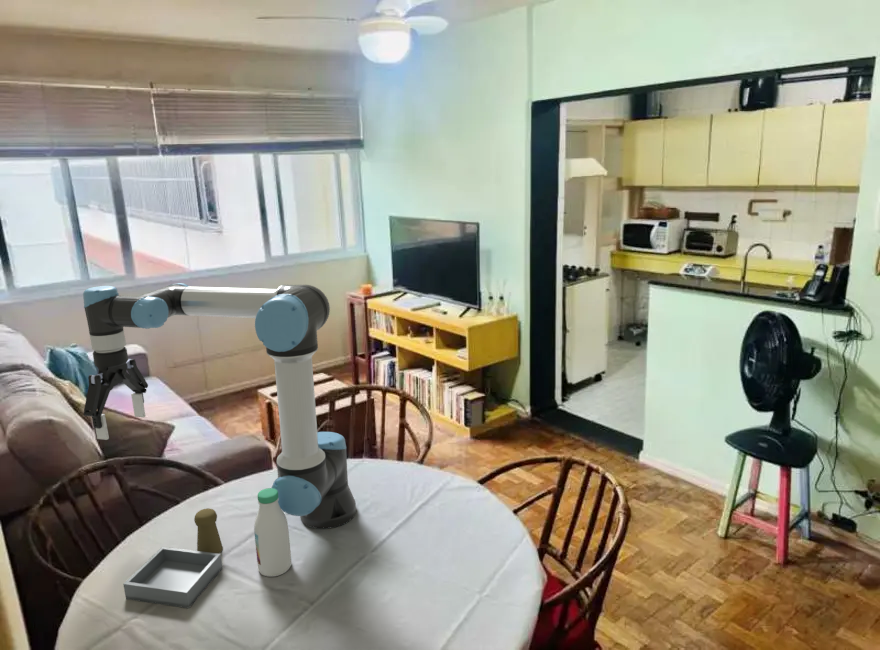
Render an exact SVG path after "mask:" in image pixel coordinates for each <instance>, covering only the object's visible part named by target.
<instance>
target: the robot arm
mask: <svg viewBox="0 0 880 650" xmlns="http://www.w3.org/2000/svg"><path fill="white" fill-rule="evenodd" d="M82 296H83V309H84V312H85V313H84V314H85V316H86V320H87V321H86V322H87V327H88V333H89V339H90V340H89V341H90V345H91V349H92V351H93V352H92V358H93V363H94V365H95V367H96V368H97V370H98V372H97V374H89V375H88V387H87V392H86V399H85V405H84V410H83V416H84V417H91V420H92V425H93V428H94V429H95V433H96V439H97V440H105V441H107V440H109V439H110V437H109V430H108V425H107V420H106V419H107V418H106V414H105V413H103V412H104V409H105V406H106V404H107V400H108V398H109V395H110V392H111V391H112V390H113V388H114V387H115V386H117V385H118V384H121V383H122V384H124V385H125V386H126V388H128V389H130V390H131V391H132V393H130V395H131V401H132V408H133V414H134V418H145V417H146V411H145V398H144V394H146V393H147V389H148V388H149V383H148V382H147V381H146V379H145V378H144V376H143V374H142V372H141V370H140V369H139V367H138V366H137V362H136V359H134V358H129V356H128V348H127V347H126V345H127V342H126V336H125V335H126V334H125V329H124V328H137V329H146V330H148V329H158V328H161V327H163V326H164V325H165V323H166V322H167V320H168V318H171V317H173V316H194V317H195V316H197V317H201V316H203V317H222V318H224V317H225V318H227V317H228V318H243V319H244V318H247V319H249V318H250V319H255V320H254V329H255V330H254V331H255V334H256V336H257V338H258V340H259V341H260V342H262V345H263V346H264V347H265V349H266V351H265V352H266V355H268V357H270V358H272V359H273V361H274V363H273V364H274V372H275V373H274V374H275V384H276V385H275V386H276V395H277V396H276V398H277V408H278V416H279V418H278V419H279V430H280V441H281V442H280V443H281V453H279V455H278V456H277V458H276V469H277V470H276V471H277V478H276V479H275V480H274V481H273V483H272V486H271V488H274V489H276V490H277V491H278V498H279V500H278V504H279V506H280V508H281V509H282V511H283V512H284V514H287V515H290V516H295V517H300V521H301V522H302V523H303V524H304V525H306V526H307V527H310V528H313V529H320V530H322V529H323V530H324V529H333V528H337V527H340V526H342V524H343V525H344V523H345V524H346V522H347V523H348V522H350V521H351V520H352V519H353V518H354V517H355V516H356V513H357V505H356V500H355V498H354V495H353V493H352V491H351V488H350V486H349V480H348V475H349V474H348V461H347V460H348V458H347V444H346V439H345V437H344V436H343V435H342V434H340V433H337V432H334V431H318V424H317V411H316V410H317V409H316V396H315V395H316V394H315V383H314V382H315V381H314V366H313V356H314V355H315V353H317V352H318V350H319V346H318V344H319V343H318V342H319V341H318V334H317V333H318V331H319V330H320V329H321V328H322V327H324V325H325V324H326V323H327V321H328V319H329V315H330V313H331V312H330V311H331V310H330V309H331V307H330V303H329V299H328V297H327V295H325V293H324V292H323V291H322V290H321V289H320V288H318V287H316V286H314V285H311V284H281V285H280V286H278V288H264V287H263V288H261V287H259V288H258V287H257V288H256V287H220V286H219V287H218V286H217V287H215V286H190V285H188V284H186V283H183V282H180V283H171V284H170V285H167V286H164V287H161V288H158V289H155V290H151V291H149V292H146V293H142V294H140V295H134V296H133V295H131V296H130V295H129V296H128V295H127V296H126V295H120V293H119V291H118V288H117V287H116V286H114V285H113V286H112V285H101V286H93V287H89V288H86V289H85V290H84V291H83V293H82ZM353 516H354V517H353ZM350 519H351V520H350ZM349 520H350V521H349ZM339 525H340V526H339ZM336 526H337V527H336Z"/></svg>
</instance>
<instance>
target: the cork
mask: <svg viewBox="0 0 880 650" xmlns="http://www.w3.org/2000/svg"><path fill="white" fill-rule="evenodd" d="M217 519H218V514H217V512H216V511H215V509H213V508H203V509H200V510H198V511H197V512H196V514H195V515H194V519H193V520H194V524H195V526H197V535H196V536H197V540H196V541H197V543H196V544H197V545H196V546H197V547H196V551H202V552H210V553H218V554H221V553H222V552H223V550H224V547H223V544H222V540H221V538H220V534H219V530H218V527H217Z"/></svg>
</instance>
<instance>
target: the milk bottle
mask: <svg viewBox="0 0 880 650" xmlns="http://www.w3.org/2000/svg"><path fill="white" fill-rule="evenodd" d="M278 500H279V498H278V491H277V490H276V489H274V488H272V487H269V488H263V489H262V490H261V489H260V491H259V492H257V503H258V505H259V507H258V511H257V514H256V516H255V520H254V525H253V526H254V527H253V528H254V529H253V531H254V541H255V543H254V544H255V553H256V560H257V561H256V562H257V569H258V571H259V573H260V575H262V576H264V577H269V578H272V577H278V576H280V575H281V576H282V575H283V574H285V573H287V572H288V570H289V569H291V566H292V554H291V552H292V551H291V543H290V542H291V541H290V532H289V524H288V520H287V516H286V513H285V512H284V511H283V510H282V509H281V508H280V506H279V504H278Z"/></svg>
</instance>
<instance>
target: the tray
mask: <svg viewBox="0 0 880 650" xmlns="http://www.w3.org/2000/svg"><path fill="white" fill-rule="evenodd" d="M222 570H223V560H222V554H221V553H219V554H218V553H210V552H202V551H197V550H191V549H186V548H177V547H168V546H161V547H160V548H159V549H158V550H157V551H156V552H155V553H154V554H153V555H152V556H151V557H149V559H148V560H146V561H145V562H144V564H142V565H141V566H140V567H139V568H138V569H136V571H135V572H134V573H133V574H132V575H130V577H129V578H128V579H126V581H124V583H123V590H124V591H123V592H124V595H125V600H128V601H135V602H136V601H137V602H143V603H149V604H150V603H151V604H156V605H157V604H158V605H164V606H169V607H170V606H171V607H176V608H183V609H185V608H186V609H190V608H191V607H192V606H193V605H194V603H195V602H196V601H197V600H198V598H200V596H201V595H202V593H204V591H205V590H206V589H207V588H208V586H210V584H211V582H213V581H214V579H216V577H217V576H218V574H219V573H220V572H221V571H222Z"/></svg>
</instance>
